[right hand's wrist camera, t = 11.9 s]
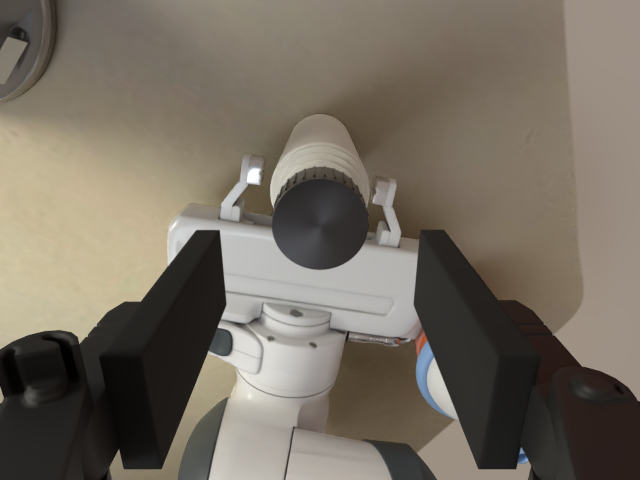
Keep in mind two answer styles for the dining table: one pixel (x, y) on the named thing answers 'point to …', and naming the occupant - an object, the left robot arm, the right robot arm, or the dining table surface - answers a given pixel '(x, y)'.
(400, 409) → the dining table surface
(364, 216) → the cap
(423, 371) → the cup with straw
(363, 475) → the left robot arm
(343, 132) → the bottle
